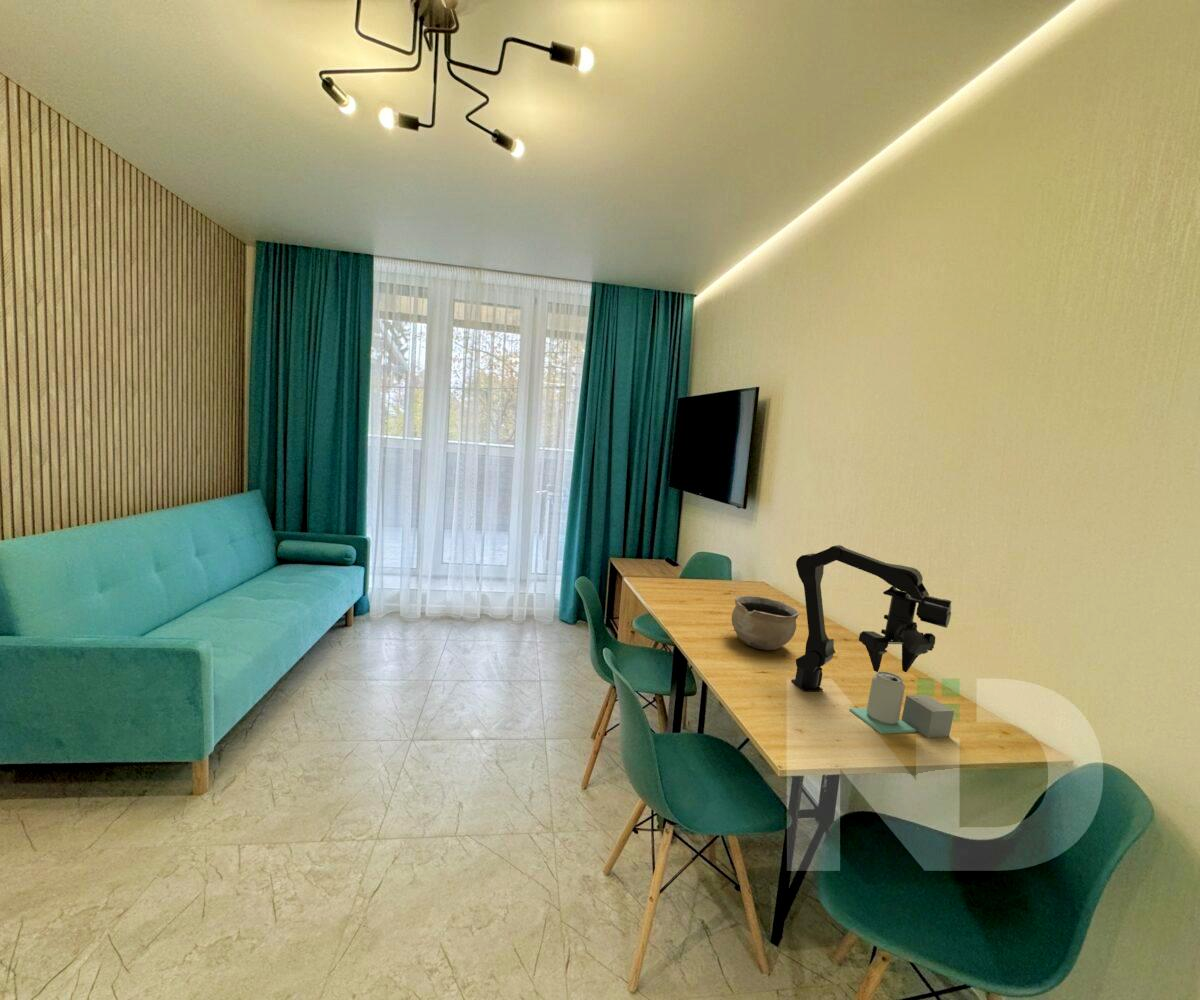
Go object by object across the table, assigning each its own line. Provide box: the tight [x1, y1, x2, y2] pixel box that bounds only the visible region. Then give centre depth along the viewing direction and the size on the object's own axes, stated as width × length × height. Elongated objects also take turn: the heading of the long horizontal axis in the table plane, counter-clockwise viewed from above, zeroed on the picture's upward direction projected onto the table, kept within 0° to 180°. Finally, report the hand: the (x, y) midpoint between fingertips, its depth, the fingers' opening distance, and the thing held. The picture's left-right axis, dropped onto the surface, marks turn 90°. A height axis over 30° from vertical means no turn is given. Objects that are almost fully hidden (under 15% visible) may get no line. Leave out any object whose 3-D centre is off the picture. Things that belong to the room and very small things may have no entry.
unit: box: [901, 694, 955, 739], centre depth 133 cm, size 7×8×7 cm
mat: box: [849, 707, 917, 735], centre depth 134 cm, size 11×11×1 cm
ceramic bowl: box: [731, 595, 800, 651], centre depth 179 cm, size 22×22×15 cm
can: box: [866, 670, 906, 725], centre depth 133 cm, size 8×8×12 cm
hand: (890, 671), depth 135 cm, fingers open, 9 cm apart
